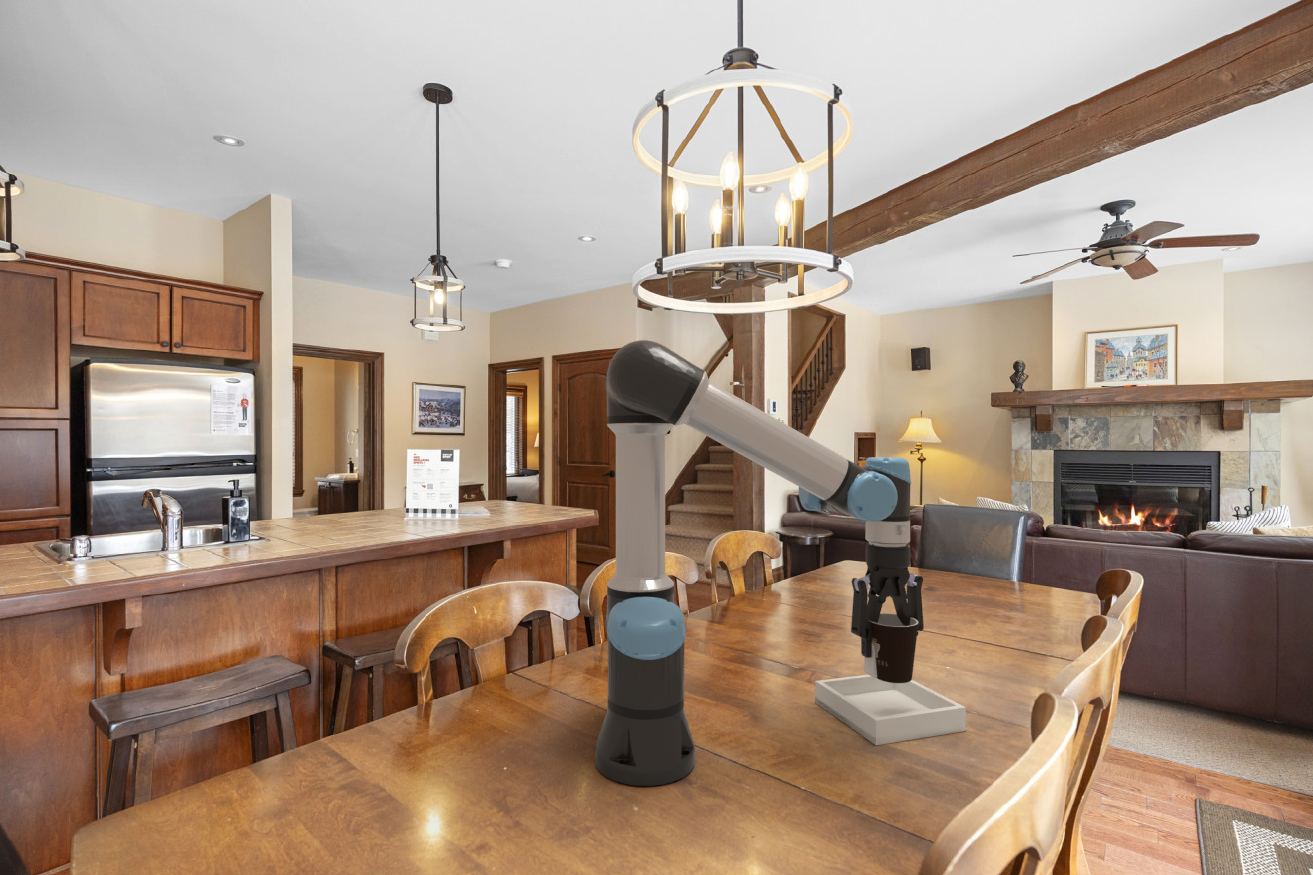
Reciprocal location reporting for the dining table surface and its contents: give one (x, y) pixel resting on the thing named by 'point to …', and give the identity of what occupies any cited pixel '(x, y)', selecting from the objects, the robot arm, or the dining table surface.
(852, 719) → the white tray
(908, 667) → the coffee mug
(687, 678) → the dining table surface
